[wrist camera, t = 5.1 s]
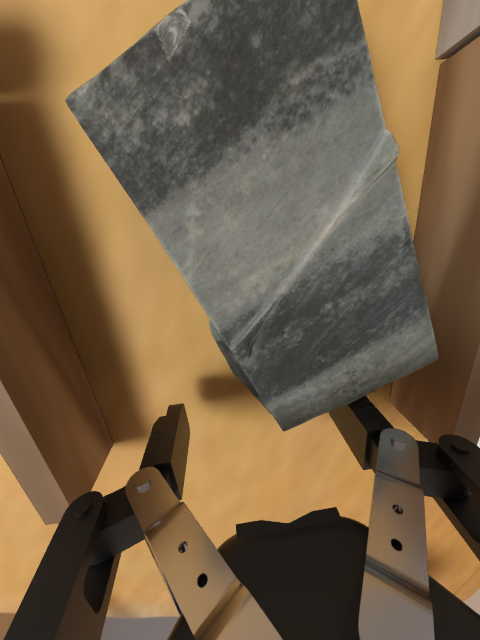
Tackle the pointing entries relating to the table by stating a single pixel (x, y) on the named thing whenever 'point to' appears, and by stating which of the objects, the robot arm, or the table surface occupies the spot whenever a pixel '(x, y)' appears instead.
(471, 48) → the pair of wooden rails
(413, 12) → the table surface
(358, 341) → the stone block
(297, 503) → the table surface
